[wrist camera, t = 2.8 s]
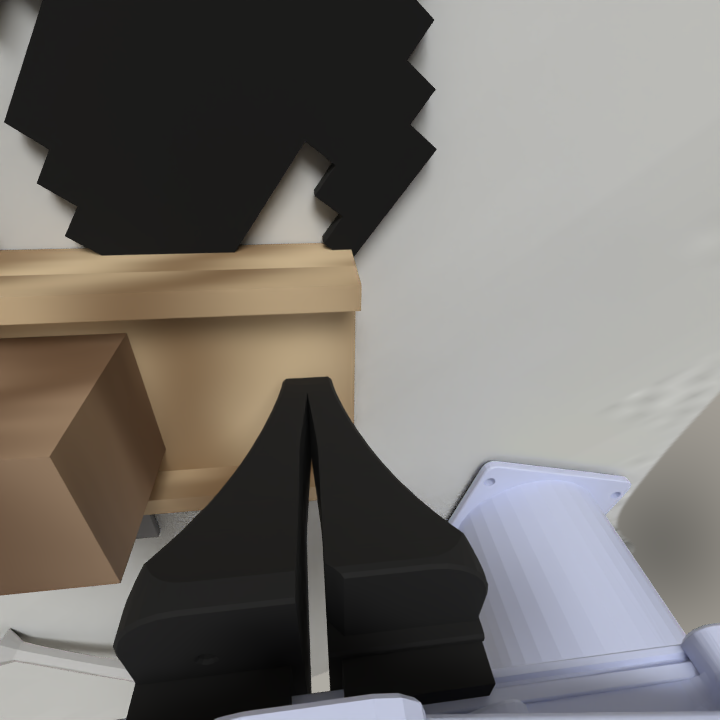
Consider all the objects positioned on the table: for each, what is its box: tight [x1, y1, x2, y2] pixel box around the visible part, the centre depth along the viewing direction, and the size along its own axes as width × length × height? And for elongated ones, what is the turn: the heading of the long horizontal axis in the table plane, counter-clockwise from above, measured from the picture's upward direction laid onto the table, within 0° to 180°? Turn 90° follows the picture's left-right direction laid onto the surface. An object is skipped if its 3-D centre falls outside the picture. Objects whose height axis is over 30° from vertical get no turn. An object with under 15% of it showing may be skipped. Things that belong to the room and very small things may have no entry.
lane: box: [0, 243, 361, 539], centre depth 14 cm, size 22×13×4 cm, turn 89°
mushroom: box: [0, 629, 134, 682], centre depth 24 cm, size 7×5×12 cm
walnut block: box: [0, 333, 166, 595], centre depth 11 cm, size 4×4×4 cm
